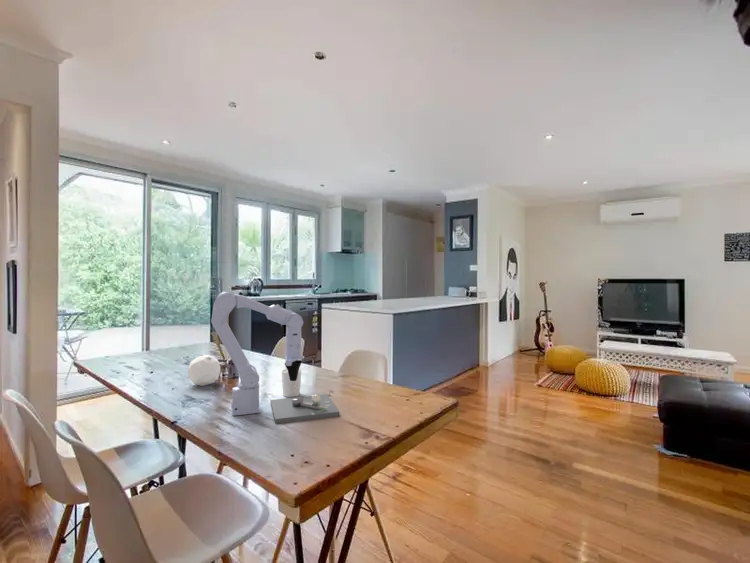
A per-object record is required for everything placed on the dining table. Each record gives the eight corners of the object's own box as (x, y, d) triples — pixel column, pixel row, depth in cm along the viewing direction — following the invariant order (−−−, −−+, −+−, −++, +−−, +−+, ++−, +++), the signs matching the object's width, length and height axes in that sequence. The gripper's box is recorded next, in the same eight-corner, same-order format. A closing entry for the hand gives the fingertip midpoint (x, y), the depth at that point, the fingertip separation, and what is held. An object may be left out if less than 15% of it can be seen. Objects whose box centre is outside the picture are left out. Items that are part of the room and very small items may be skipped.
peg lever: (289, 405, 136) (289, 392, 136) (296, 401, 140) (296, 389, 140) (323, 411, 130) (323, 398, 130) (329, 407, 134) (329, 395, 134)
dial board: (275, 423, 124) (275, 418, 124) (270, 403, 143) (270, 399, 143) (339, 416, 131) (339, 411, 131) (327, 398, 150) (327, 394, 150)
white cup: (296, 398, 150) (296, 373, 150) (278, 396, 151) (278, 372, 151) (304, 392, 157) (304, 368, 157) (286, 391, 159) (286, 367, 159)
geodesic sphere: (233, 370, 169) (219, 345, 172) (210, 378, 157) (195, 350, 160) (214, 386, 174) (200, 361, 177) (190, 395, 161) (175, 368, 164)
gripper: (299, 348, 134) (298, 386, 134) (308, 341, 148) (308, 375, 149) (279, 348, 134) (279, 385, 135) (290, 341, 149) (290, 375, 149)
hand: (293, 380), depth 142 cm, fingers closed
